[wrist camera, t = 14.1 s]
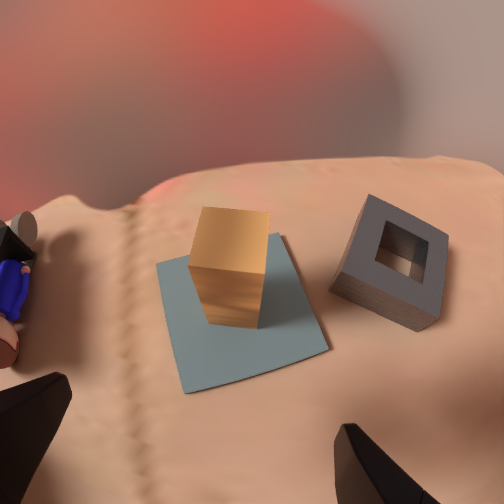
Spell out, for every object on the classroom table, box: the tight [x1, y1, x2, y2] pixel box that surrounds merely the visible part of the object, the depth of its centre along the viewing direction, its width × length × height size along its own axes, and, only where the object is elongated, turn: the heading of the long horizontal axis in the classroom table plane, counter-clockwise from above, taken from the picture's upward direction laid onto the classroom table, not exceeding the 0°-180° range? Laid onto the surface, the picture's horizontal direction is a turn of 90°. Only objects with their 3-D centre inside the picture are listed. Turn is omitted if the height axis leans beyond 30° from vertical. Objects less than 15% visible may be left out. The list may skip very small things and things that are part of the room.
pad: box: [156, 232, 329, 394], centre depth 22 cm, size 11×11×1 cm
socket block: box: [329, 194, 449, 332], centre depth 23 cm, size 9×9×4 cm
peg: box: [188, 207, 270, 330], centre depth 18 cm, size 4×4×9 cm
